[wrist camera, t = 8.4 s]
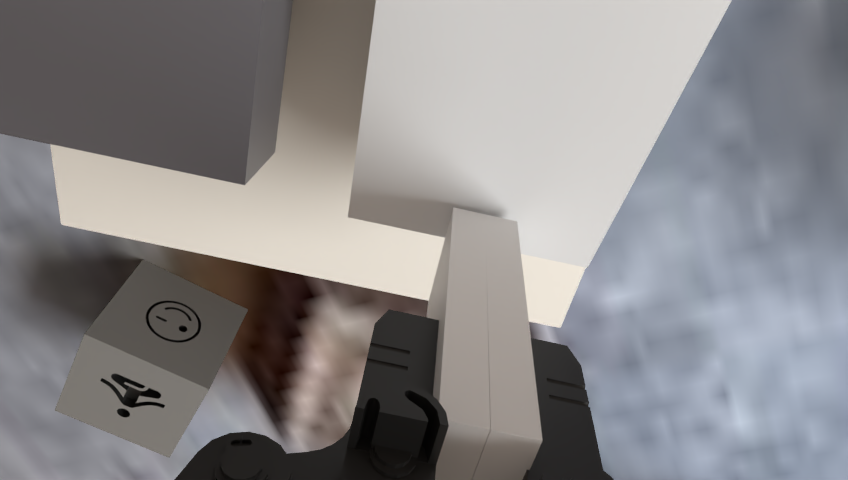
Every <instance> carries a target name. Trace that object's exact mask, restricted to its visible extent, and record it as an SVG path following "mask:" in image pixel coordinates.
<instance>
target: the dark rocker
mask: <svg viewBox="0 0 848 480" xmlns="http://www.w3.org/2000/svg"><path fill="white" fill-rule="evenodd" d="M292 5H293V0H0V134H5V135H10V136H15V137H19V138H24V139H29V140H33V141H38V142H43V143H48V144H52V145H57V146H62V147H66V148H71V149H76V150H81V151H85V152H90V153H95V154H99V155H104V156H109V157H114V158H118V159H123V160H128V161H132V162H137V163H142V164H147V165H151V166H156V167H161V168H165V169H170V170H175V171H180V172H184V173H189V174H194V175H198V176H203V177H208V178H213V179H217V180H222V181H227V182H231V183H236V184H241V185H246V183H247V182H248V181H249V180H250V179H251V178H252V177H253V176H254V175H255V174H256V173H257V172H258V170H259V169H260V168H261V167H262V166H263V165H264V164H265V163H266V162H267V161H268V160H269V159H270V157H271V156H272V155H273V154H274V153H275V148H276V140H277V131H278V123H279V114H280V106H281V98H282V89H283V81H284V72H285V64H286V55H287V47H288V38H289V30H290V22H291V13H292Z"/></svg>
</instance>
